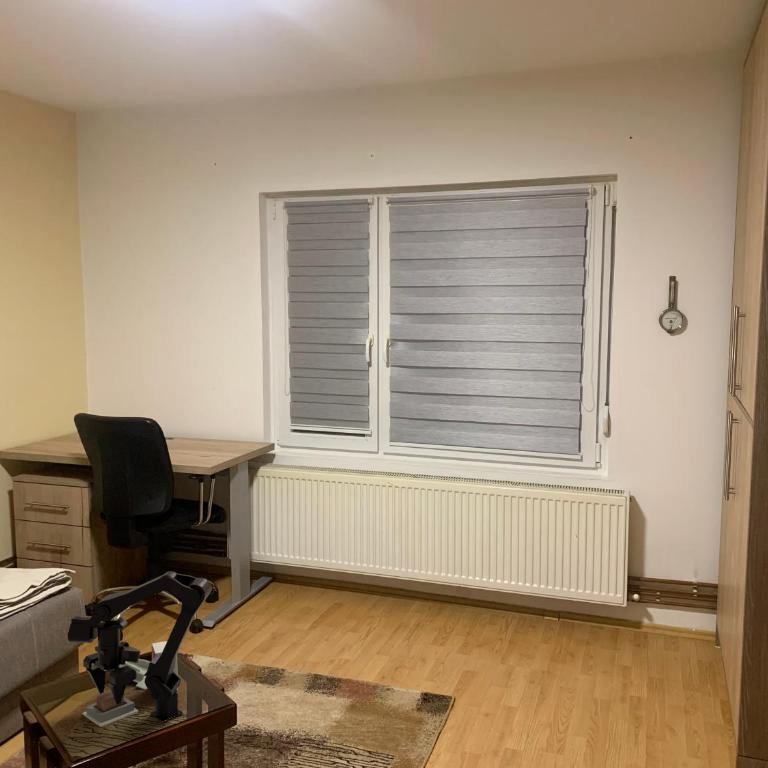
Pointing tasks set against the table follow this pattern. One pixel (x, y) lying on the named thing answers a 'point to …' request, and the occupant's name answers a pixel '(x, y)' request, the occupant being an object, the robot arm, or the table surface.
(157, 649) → the small box
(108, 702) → the walnut block
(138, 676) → the metal bracket
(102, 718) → the socket board
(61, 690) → the table surface
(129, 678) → the robot arm
